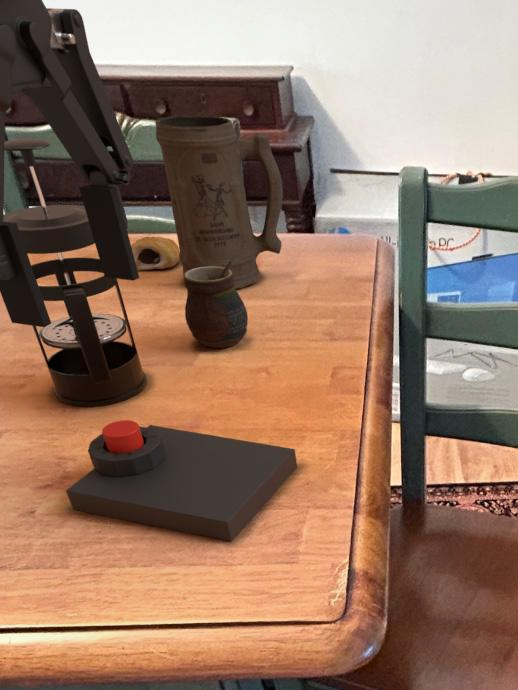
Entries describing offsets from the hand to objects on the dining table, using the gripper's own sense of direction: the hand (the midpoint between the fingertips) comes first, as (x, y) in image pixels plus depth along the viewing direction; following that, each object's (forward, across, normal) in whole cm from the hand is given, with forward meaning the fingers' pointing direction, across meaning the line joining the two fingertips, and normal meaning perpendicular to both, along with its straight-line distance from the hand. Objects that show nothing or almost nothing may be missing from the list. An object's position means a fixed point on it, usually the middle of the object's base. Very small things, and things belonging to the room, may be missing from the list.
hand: (79, 298), depth 56 cm
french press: (+16, +14, +14) cm, 26 cm away
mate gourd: (+16, +30, +8) cm, 35 cm away
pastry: (+16, +54, +34) cm, 65 cm away
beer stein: (+16, +52, +18) cm, 57 cm away
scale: (+16, 0, -6) cm, 17 cm away
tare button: (+13, 0, 0) cm, 13 cm away
